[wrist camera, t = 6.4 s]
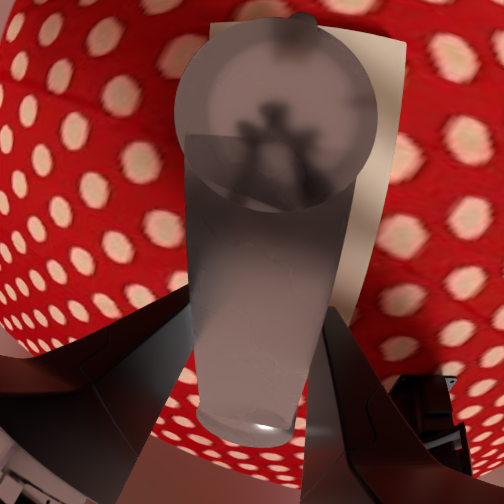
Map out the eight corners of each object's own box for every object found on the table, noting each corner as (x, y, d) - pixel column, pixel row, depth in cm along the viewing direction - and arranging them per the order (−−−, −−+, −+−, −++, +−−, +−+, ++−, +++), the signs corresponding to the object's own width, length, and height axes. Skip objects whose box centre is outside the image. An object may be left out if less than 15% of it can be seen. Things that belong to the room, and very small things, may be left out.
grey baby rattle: (293, 412, 13) (285, 453, 11) (214, 396, 14) (199, 434, 12) (368, 51, 6) (386, 32, 4) (217, 39, 7) (179, 21, 5)
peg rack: (340, 336, 22) (339, 388, 17) (212, 312, 23) (189, 359, 19) (399, 47, 12) (428, 28, 8) (219, 28, 13) (182, 7, 9)
